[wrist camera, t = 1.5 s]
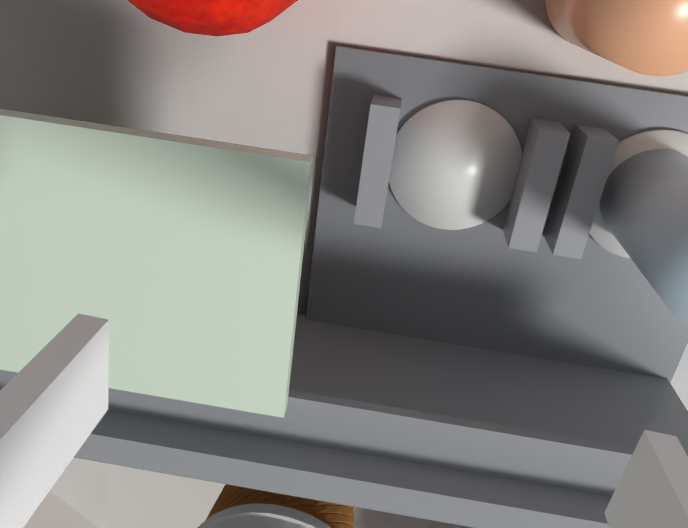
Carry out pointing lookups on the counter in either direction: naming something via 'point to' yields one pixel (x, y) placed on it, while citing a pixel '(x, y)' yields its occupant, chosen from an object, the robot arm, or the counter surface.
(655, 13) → the peg
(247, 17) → the apple
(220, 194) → the lid
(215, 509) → the disposable coffee cup
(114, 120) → the counter surface
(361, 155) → the housing
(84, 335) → the robot arm
